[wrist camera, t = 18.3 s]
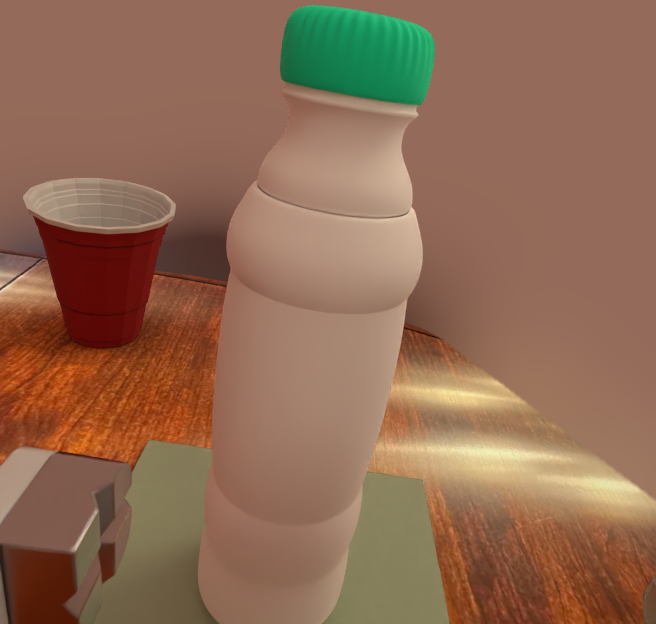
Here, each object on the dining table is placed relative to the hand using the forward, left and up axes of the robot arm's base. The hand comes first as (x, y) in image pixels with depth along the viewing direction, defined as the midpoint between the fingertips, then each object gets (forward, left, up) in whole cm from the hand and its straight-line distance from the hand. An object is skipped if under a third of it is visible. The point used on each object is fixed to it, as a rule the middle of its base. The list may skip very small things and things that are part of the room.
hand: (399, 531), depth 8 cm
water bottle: (+2, -13, -18) cm, 22 cm away
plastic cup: (+19, -35, -18) cm, 43 cm away
